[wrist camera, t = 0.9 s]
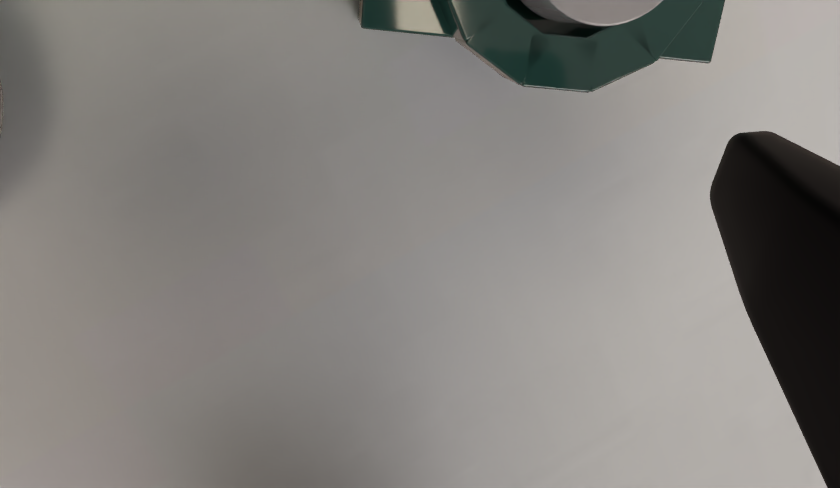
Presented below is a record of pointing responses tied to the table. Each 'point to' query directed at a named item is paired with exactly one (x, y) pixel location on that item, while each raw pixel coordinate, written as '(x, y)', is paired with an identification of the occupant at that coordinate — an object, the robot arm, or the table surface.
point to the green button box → (555, 38)
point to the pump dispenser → (1, 108)
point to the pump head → (591, 10)
